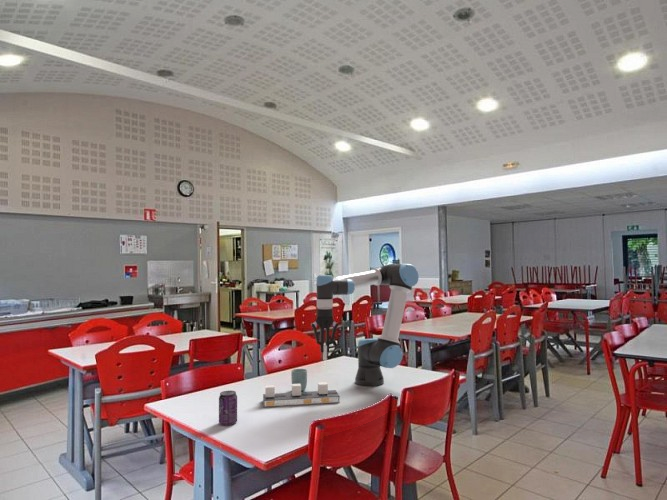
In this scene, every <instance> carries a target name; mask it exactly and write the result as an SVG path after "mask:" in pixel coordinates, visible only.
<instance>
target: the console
mask: <svg viewBox="0 0 667 500" xmlns="http://www.w3.org/2000/svg"><path fill="white" fill-rule="evenodd" d="M262 397H263V398H262V399H263V401H262V405H263V407H262V408H272V407H273V408H275V407H292V406H308V405H322V404H324V405H325V404H339V403H340V394H339V393H338V392H337V390H336V389H333V390H328V394H319V393H318V390H315V391H313V390H312V391H301V395H299V396H292V392H279V393H278V392H277V393H276V392H275V397H266V396H265V393H264V394H262Z"/></svg>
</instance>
